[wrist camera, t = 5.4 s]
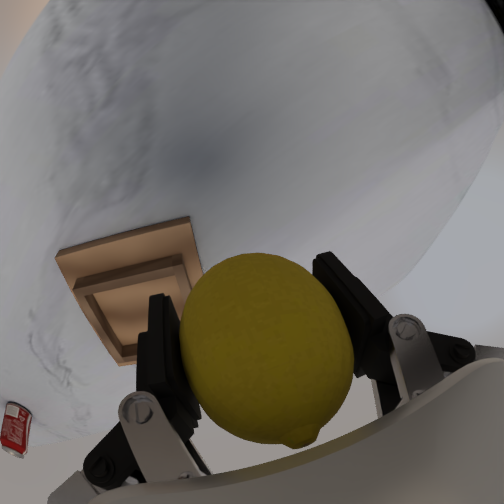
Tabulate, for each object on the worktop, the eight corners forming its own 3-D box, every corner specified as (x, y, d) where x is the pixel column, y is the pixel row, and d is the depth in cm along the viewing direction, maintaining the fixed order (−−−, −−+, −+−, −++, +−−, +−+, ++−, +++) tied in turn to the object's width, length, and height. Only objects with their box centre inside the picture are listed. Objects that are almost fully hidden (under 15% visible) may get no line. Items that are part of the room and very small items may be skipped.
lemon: (246, 333, 14) (297, 472, 8) (152, 294, 12) (160, 475, 5) (317, 257, 13) (421, 389, 6) (225, 192, 10) (322, 369, 4)
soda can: (3, 397, 33) (-6, 442, 23) (28, 406, 36) (21, 453, 26) (11, 410, 35) (4, 452, 25) (34, 419, 38) (30, 462, 28)
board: (59, 250, 24) (48, 268, 21) (189, 216, 27) (191, 231, 24) (119, 358, 34) (118, 377, 31) (220, 338, 36) (225, 357, 33)
